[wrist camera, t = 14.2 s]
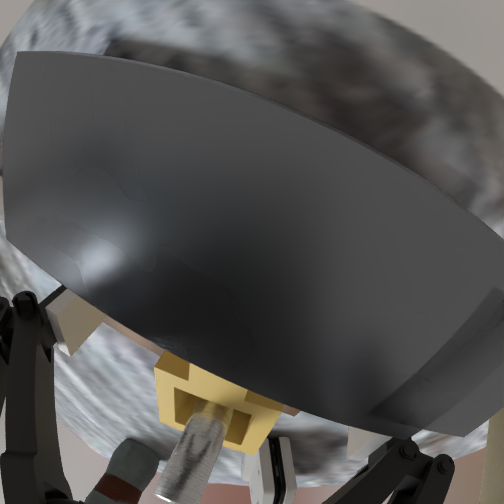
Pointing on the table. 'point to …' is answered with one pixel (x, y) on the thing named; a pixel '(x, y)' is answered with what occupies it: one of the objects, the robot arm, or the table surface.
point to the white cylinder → (1, 199)
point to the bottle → (125, 475)
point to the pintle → (194, 454)
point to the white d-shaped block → (270, 473)
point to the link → (218, 391)
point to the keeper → (256, 243)
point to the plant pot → (494, 462)
